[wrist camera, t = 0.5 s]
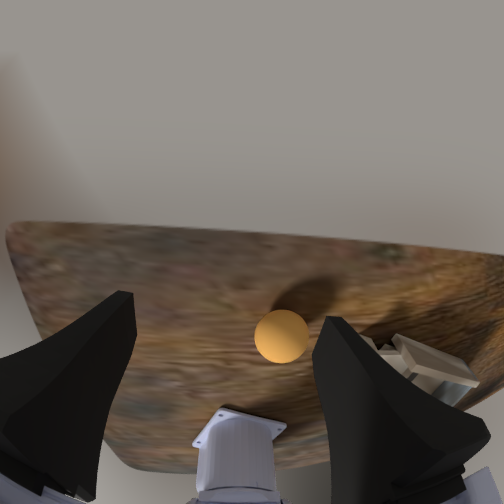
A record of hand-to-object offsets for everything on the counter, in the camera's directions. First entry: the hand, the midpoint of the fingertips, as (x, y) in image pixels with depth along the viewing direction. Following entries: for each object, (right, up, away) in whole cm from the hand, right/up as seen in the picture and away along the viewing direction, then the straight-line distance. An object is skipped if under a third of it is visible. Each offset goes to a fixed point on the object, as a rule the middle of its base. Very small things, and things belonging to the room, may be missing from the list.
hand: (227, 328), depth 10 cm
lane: (+16, -10, +15) cm, 24 cm away
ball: (+3, -3, +10) cm, 11 cm away
